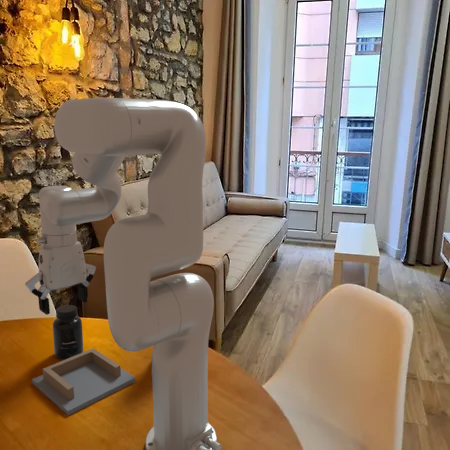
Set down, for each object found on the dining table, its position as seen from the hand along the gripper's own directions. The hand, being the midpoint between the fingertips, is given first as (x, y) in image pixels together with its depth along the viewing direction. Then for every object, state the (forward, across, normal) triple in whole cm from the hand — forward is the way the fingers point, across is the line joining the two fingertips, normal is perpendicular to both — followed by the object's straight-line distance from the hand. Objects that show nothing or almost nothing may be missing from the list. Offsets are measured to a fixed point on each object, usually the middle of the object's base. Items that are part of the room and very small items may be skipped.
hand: (64, 306), depth 106 cm
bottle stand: (+12, -4, -15) cm, 19 cm away
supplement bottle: (+13, 0, -1) cm, 13 cm away
